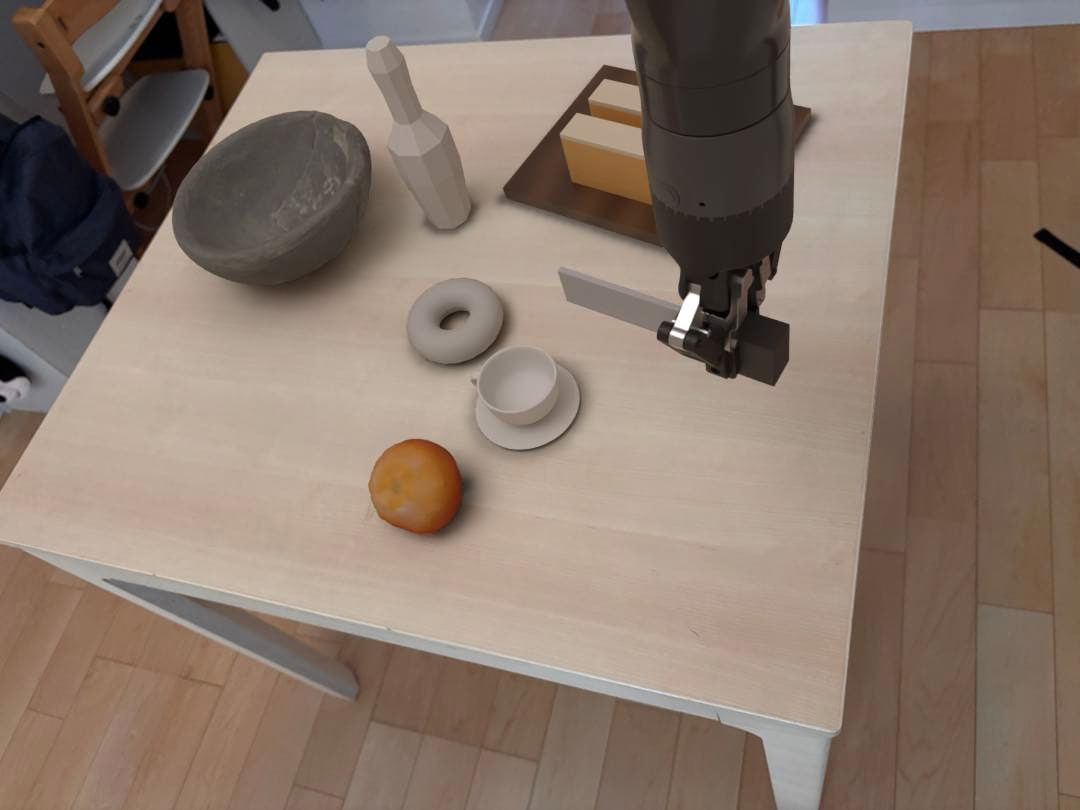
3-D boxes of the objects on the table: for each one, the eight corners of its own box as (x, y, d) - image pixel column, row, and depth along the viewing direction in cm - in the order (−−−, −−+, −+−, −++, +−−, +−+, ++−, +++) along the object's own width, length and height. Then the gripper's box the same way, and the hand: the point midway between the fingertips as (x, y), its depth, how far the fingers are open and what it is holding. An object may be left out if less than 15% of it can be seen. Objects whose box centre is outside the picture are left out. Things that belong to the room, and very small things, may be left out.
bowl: (263, 167, 110) (222, 103, 102) (421, 172, 103) (391, 103, 94) (178, 309, 99) (124, 249, 91) (348, 326, 92) (306, 263, 84)
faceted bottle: (413, 226, 98) (332, 58, 80) (445, 188, 100) (373, 17, 82) (456, 241, 95) (382, 71, 77) (488, 202, 97) (423, 27, 79)
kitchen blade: (789, 360, 58) (790, 323, 55) (774, 387, 57) (773, 352, 54) (576, 287, 66) (566, 251, 62) (560, 310, 65) (548, 275, 62)
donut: (525, 309, 88) (448, 280, 92) (518, 287, 85) (438, 259, 89) (472, 384, 84) (393, 351, 88) (462, 364, 81) (381, 331, 85)
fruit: (495, 457, 77) (446, 457, 70) (468, 540, 78) (417, 548, 71) (424, 427, 80) (371, 424, 73) (399, 506, 81) (344, 511, 74)
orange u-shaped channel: (710, 152, 92) (706, 100, 86) (669, 210, 88) (662, 160, 83) (613, 128, 97) (604, 78, 92) (571, 181, 94) (559, 133, 88)
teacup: (595, 372, 81) (586, 342, 78) (558, 462, 77) (547, 435, 73) (500, 354, 85) (487, 325, 81) (460, 439, 81) (444, 412, 77)
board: (810, 119, 93) (811, 108, 92) (716, 263, 85) (715, 253, 84) (605, 74, 105) (603, 64, 104) (505, 197, 97) (502, 187, 96)
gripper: (725, 276, 41) (739, 456, 55) (843, 87, 46) (828, 296, 60) (589, 235, 44) (636, 414, 58) (714, 63, 49) (728, 266, 63)
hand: (733, 353), depth 59 cm, fingers closed on kitchen blade, 2 cm apart
